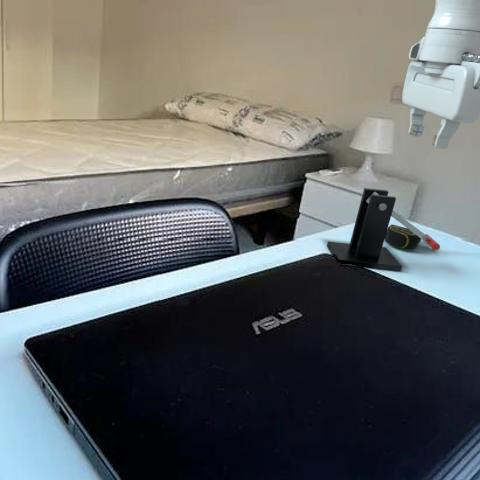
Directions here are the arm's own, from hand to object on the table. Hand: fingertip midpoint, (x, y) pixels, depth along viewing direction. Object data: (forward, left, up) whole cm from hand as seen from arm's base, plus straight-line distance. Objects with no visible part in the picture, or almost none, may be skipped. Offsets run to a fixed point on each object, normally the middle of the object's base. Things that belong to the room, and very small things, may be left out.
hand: (426, 141), depth 82 cm
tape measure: (-9, -19, -26) cm, 33 cm away
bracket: (+2, -9, -26) cm, 27 cm away
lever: (-4, -9, -18) cm, 20 cm away
